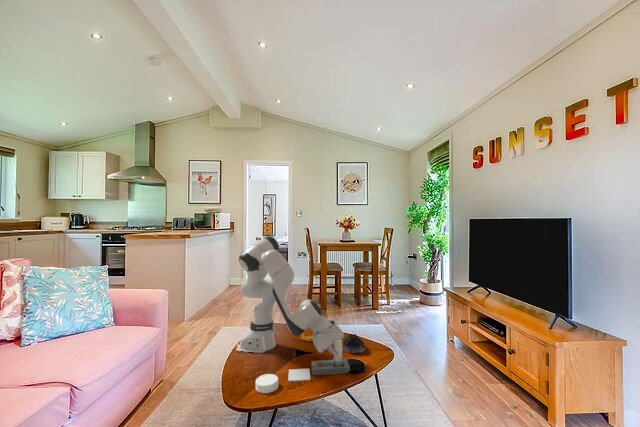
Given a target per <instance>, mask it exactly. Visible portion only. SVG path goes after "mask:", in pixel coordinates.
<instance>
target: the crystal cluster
mask: <svg viewBox="0 0 640 427" xmlns="http://www.w3.org/2000/svg"><path fill="white" fill-rule="evenodd" d="M342 345H343V351H344V352H346V353H349V354H359V353H360V354H362V353H364V351H366V345H365V343H364V341H363V340H362V339H361V338H360V337H359V336H358V335H357V334H356V333H348V334H347V336H346V338H345V339H343V340H342Z"/></svg>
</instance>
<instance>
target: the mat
mask: <svg viewBox="0 0 640 427" xmlns="http://www.w3.org/2000/svg"><path fill="white" fill-rule="evenodd" d="M310 370H311V369H310V368H296V369H295V368H294V369H291V368H290V369H288V375H287V376H288V378H287V382H288V383H293V382H309V381H311V371H310Z"/></svg>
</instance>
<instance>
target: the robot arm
mask: <svg viewBox="0 0 640 427" xmlns="http://www.w3.org/2000/svg"><path fill="white" fill-rule="evenodd" d="M279 251H280V246H279V242H278V241H277V240H276V238H274V237H273V236H271V235H269V236H265V237H262V239H260V240H258V241H256V242H255V243H253V244H252V245H251V246H250V247H247V248H246V249H244V251H243V252H242V253H241V254H239V256H238V263H239V265H240V267H241V268H242V269H243V270H244V271H246V274H247V279H245V280H244V281H243V282H242V284H241V287H240V293H241V294H242V296H244V298H245V297H246V298H249V299H262V302H261V303H258V304H257V305H256V306H254V307H253V308H254V309H253V315H252V316H253V317H252V318H253V320H251V321H250V323H249V329H247V331H246V332H244V334H242V335H241V338H240V342H239V343H240V345H239V343H238V344H237V345H236V347H237V346H238V347H237V348H236V347H235V350H237V351H243V352H242V353H248V352H254V353H255V354H256V353H257V354H262V353H265V352H266V351H267V352H268V351H270V350H272V349H274V348H275V347H276V346H277V344H276V340H275V334H274V328H275V327H274V326H275V324H274V323H275V322H274V320H273V317H274V316H273V315H274V307H275V303H277V306H278V308H279V310H280V312H281V314H282V316H283V319H284V320H285V324H286V327H287V329H288V331H289V332H290V334H292V336H297V337H298V336H301V335H302V334H303V333H304V332H305V331H306V329H308V328H309V327H311V329H312V331H313V332H314V334H312V336H313V337H312V340H313V341H312V342H313V345H314V346H315V348H316V350H317V352H318V353H320V354H322V353H323V352H325V351H328V353H331V355H333V357H334V356H336V355H337V354H338V352H337V351H336V350H334V348H333V347H334V340H335V339H341V340H344V338H345V333H344V331H343V330H342V329H341V328H340V326H339V325H337V322H336V321H335V320H332V319H327V318H326V317H325V316H323V312H324V309H322V308H321V306H320V304H319V303H318V301H314V300H311V299H309V298H308V299H305V300H303V301H302V302H301V303H300V304H299V306H298V310H297V311H295V312H294V313H291V312H292V311H291V310H290V308H289V306H288V304H287V301H286V300H285V296H286V294H287V292H288V290H289V288H290V287H291V285H292V284H293V282H294V279H295V272H294V270H293V268H292V266H291V265H290V263H289V262H288V261H287V259H286V258H285V257H284V256H283V255H282V254H281V253H280V252H279ZM267 275H268V276H269V277H270V278H266V277H267ZM237 351H236V352H237ZM342 351H344V347H342ZM254 353H253V354H254Z"/></svg>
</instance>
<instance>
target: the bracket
mask: <svg viewBox="0 0 640 427" xmlns="http://www.w3.org/2000/svg"><path fill="white" fill-rule="evenodd" d="M312 334H314V332H313V331H312V329H311V327H309V328H308V329H306V331H305V332H304V333H303V334H302V335H300V339H301V340H303V341H306V342H313V340H312V337H313V336H312Z"/></svg>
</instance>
